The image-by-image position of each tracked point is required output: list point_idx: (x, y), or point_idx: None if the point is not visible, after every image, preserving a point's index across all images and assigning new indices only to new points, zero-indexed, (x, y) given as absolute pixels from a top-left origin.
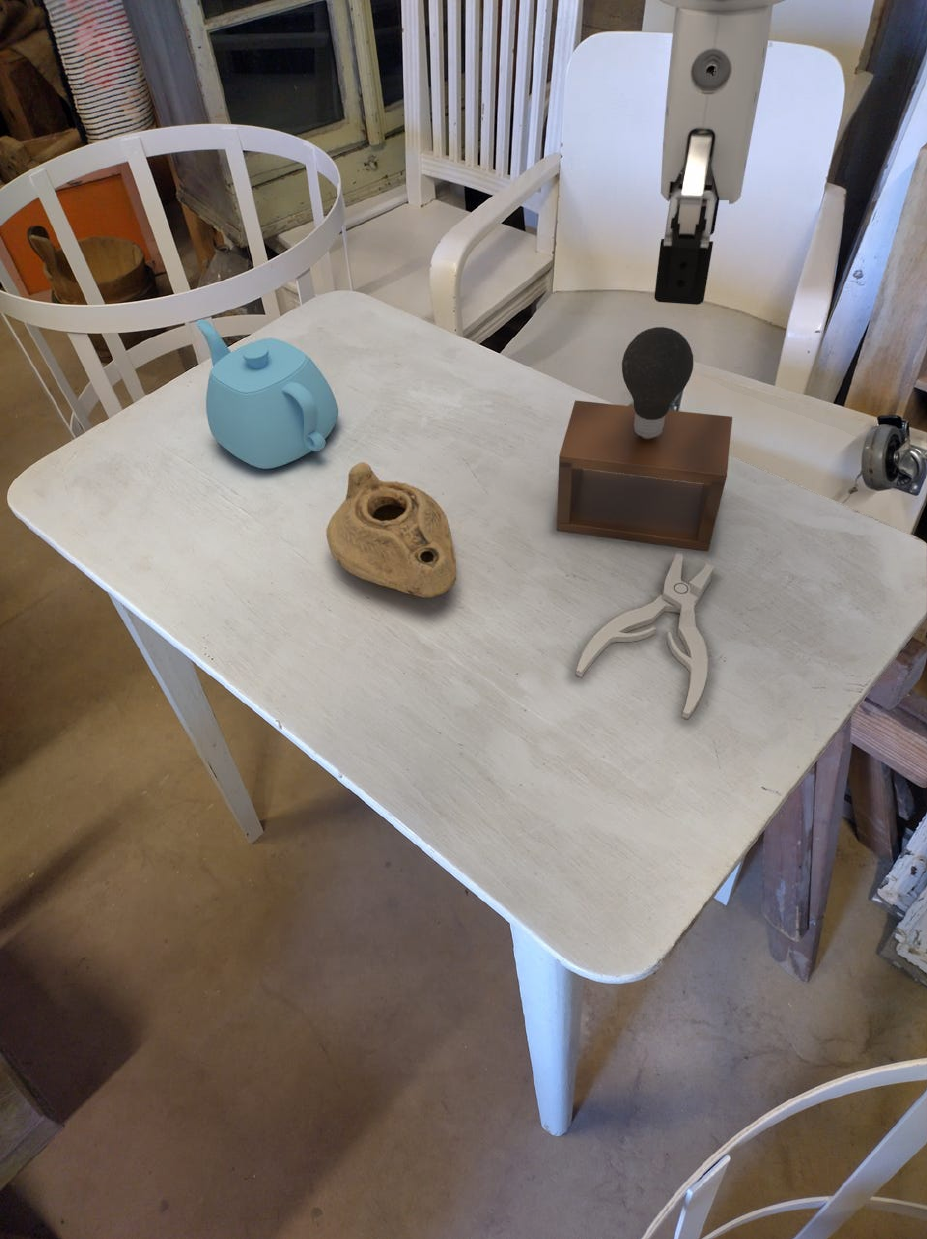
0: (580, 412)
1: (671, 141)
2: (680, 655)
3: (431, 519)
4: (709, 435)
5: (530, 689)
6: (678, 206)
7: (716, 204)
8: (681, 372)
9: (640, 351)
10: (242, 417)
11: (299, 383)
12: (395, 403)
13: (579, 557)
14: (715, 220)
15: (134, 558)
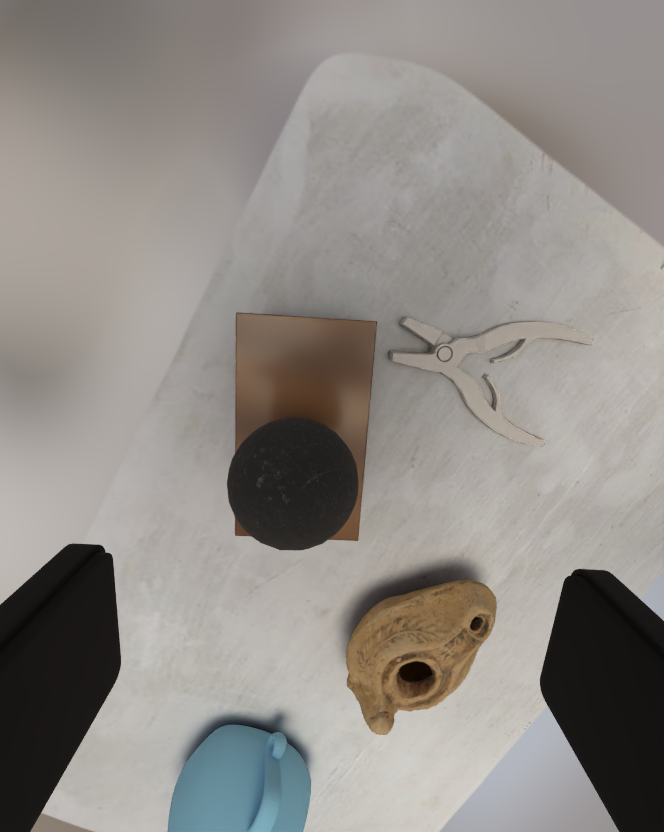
0: None
1: None
2: (523, 349)
3: (420, 631)
4: (288, 347)
5: (555, 481)
6: (60, 760)
7: (30, 639)
8: (339, 446)
9: (327, 536)
10: None
11: (243, 823)
12: (168, 676)
13: (385, 457)
14: (66, 574)
15: (425, 811)
